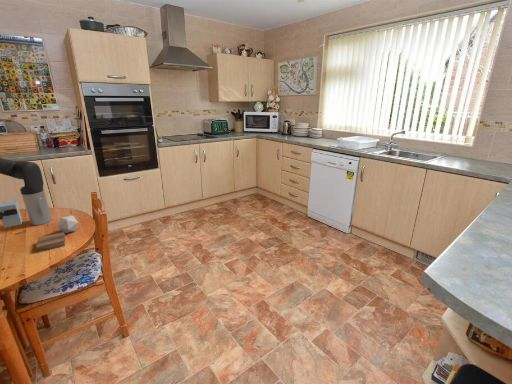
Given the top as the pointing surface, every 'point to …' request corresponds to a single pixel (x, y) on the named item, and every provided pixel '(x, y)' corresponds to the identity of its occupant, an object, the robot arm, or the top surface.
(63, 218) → the die
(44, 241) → the walnut base
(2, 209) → the gray block
